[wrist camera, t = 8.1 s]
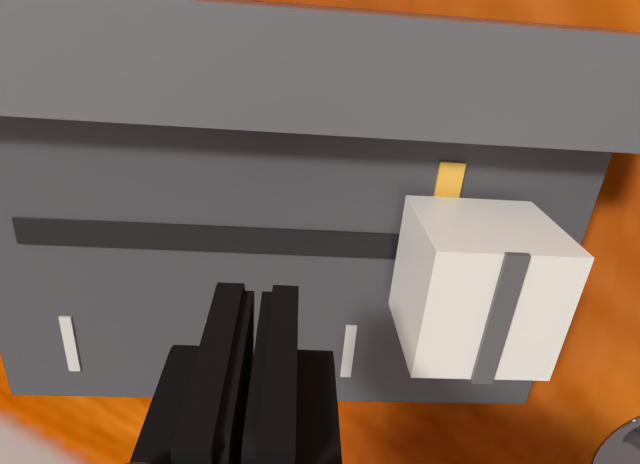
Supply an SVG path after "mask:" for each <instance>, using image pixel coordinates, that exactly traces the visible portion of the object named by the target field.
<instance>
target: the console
mask: <svg viewBox="0 0 640 464" xmlns="http://www.w3.org/2000/svg"><path fill="white" fill-rule="evenodd" d="M613 152H617V153H634V154H640V33H635V32H627V31H619V30H612V29H604V28H591V27H579V26H566V25H553V24H541V23H528V22H515V21H503V20H490V19H478V18H465V17H452V16H440V15H427V14H415V13H402V12H389V11H377V10H364V9H351V8H339V7H326V6H314V5H301V4H288V3H276V2H263V1H250V0H0V353H1V357H2V361H3V364H4V368H5V372H6V375H7V379H8V383H9V386H10V390H11V393H12V395H49V396H104V397H153V396H154V393H155V390H156V387H157V385H158V382H159V379H160V376H161V373H162V371H163V368H164V365H165V362H166V359H167V357H168V354H169V351H170V349H171V347H172V346H173V345H196V346H199V345H200V342H201V338H202V334H203V331H204V327H205V324H206V320H207V317H208V313H209V310H210V306H211V303H212V299H213V296H214V292H215V288H216V285H217V283H218V282H224V283H244V284H245V290H247V291H254V348H255V341H256V333H257V326H258V318H259V311H260V303H261V296H262V291H269V292H272V288H273V285H289V286H299V298H298V349H300V350H326V351H333V354H334V364H335V377H336V390H337V401H380V402H435V403H491V404H525V403H526V400H527V398H528V395H529V392H530V389H531V386H532V383H533V380H494V381H493V384H471V381H470V379H442V378H411V377H410V373H409V370H408V367H407V363H406V360H405V357H404V353H403V350H402V347H401V343H400V340H399V337H398V333H397V330H396V327H395V323H394V320H393V317H392V313H391V310H390V307H389V297H390V290H391V284H392V278H393V272H394V266H395V260H396V253H397V247H398V241H399V235H400V229H401V223H402V216H403V210H404V204H405V198H406V195H413V196H433V197H453V198H472V199H492V200H512V201H531V202H532V203H534V204H535V205H536V206H537V207H538V208H539V209H540V210H541V211H543V212H544V213H545V214H546V215H547V216H548V217H549V218H550V219H551V220H553V221H554V222H555V223H556V224H557V225H558V226H559V227H560V228H562V229H563V230H564V231H565V232H566V233H567V234H568V235H569V236H570V237H572V238H573V239H574V240H575V241H576V242H577V243H578V244H579V245H581V243H582V240H583V237H584V234H585V232H586V229H587V226H588V223H589V220H590V217H591V214H592V211H593V209H594V206H595V203H596V200H597V197H598V194H599V191H600V189H601V186H602V183H603V180H604V177H605V174H606V171H607V169H608V166H609V163H610V160H611V157H612V154H613Z"/></svg>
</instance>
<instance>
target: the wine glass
mask: <svg viewBox="0 0 640 464" xmlns="http://www.w3.org/2000/svg"><path fill="white" fill-rule="evenodd" d="M592 464H640V416H639V417H636V418H634V419H633V420H631V421H629V422H627V423H625V424H624V425H622V426H621V427H620V428H618V429H617V430H616V431H614V432H613V433H612V434H611V435H610V436H609V437H608V438H607V439H606V440H605V441H604V442H603V443H602V445H601V446H600V447H599V449H598V450H597V452H596V454H595V456H594V459H593V462H592Z"/></svg>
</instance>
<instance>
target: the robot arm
mask: <svg viewBox="0 0 640 464" xmlns="http://www.w3.org/2000/svg"><path fill="white" fill-rule="evenodd" d="M298 298H299V286H289V285H273V288H272V292H269V291H262V296H261V303H260V311H259V318H258V326H257V333H256V341H255V348H254V291H247V290H245V284H244V283H224V282H218V283H217V285H216V288H215V292H214V296H213V299H212V303H211V306H210V310H209V313H208V317H207V320H206V324H205V327H204V331H203V334H202V338H201V342H200V345H199V346H196V345H173V346H172V347H171V349H170V351H169V354H168V357H167V359H166V362H165V365H164V368H163V371H162V373H161V376H160V379H159V382H158V385H157V387H156V390H155V393H154V396H153V399H152V401H151V404H150V407H149V410H148V413H147V415H146V418H145V421H144V424H143V427H142V429H141V432H140V435H139V438H138V441H137V443H136V446H135V449H134V452H133V455H132V457H131V460H130V463H126V464H342V456H341V443H340V430H339V417H338V403H337V390H336V377H335V364H334V354H333V351H326V350H300V349H298Z"/></svg>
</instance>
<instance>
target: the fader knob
mask: <svg viewBox="0 0 640 464" xmlns="http://www.w3.org/2000/svg"><path fill="white" fill-rule="evenodd" d="M593 261H594V257H593V256H592V255H591V254H589V253H588V252H587V251H586V250H585V249H584V248H583V247H582V246H581V245H579V244H578V243H577V242H576V241H575V240H574V239H573V238H572V237H570V236H569V235H568V234H567V233H566V232H565V231H564V230H563V229H562V228H560V227H559V226H558V225H557V224H556V223H555V222H554V221H553V220H551V219H550V218H549V217H548V216H547V215H546V214H545V213H544V212H543V211H541V210H540V209H539V208H538V207H537V206H536V205H535V204H534V203H532V202H531V201H512V200H492V199H472V198H453V197H433V196H413V195H406V198H405V204H404V210H403V216H402V223H401V229H400V235H399V241H398V247H397V253H396V260H395V266H394V272H393V278H392V284H391V290H390V297H389V307H390V310H391V313H392V317H393V320H394V323H395V327H396V330H397V333H398V337H399V340H400V343H401V347H402V350H403V353H404V357H405V360H406V363H407V367H408V370H409V373H410V377H411V378H442V379H470V381H471V384H493V381H494V380H534V381H549V380H550V378H551V375H552V372H553V370H554V367H555V364H556V361H557V359H558V356H559V353H560V351H561V348H562V345H563V342H564V340H565V337H566V334H567V332H568V329H569V326H570V323H571V321H572V318H573V315H574V313H575V310H576V307H577V304H578V302H579V299H580V296H581V294H582V291H583V288H584V285H585V283H586V280H587V277H588V274H589V272H590V269H591V266H592V264H593Z"/></svg>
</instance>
